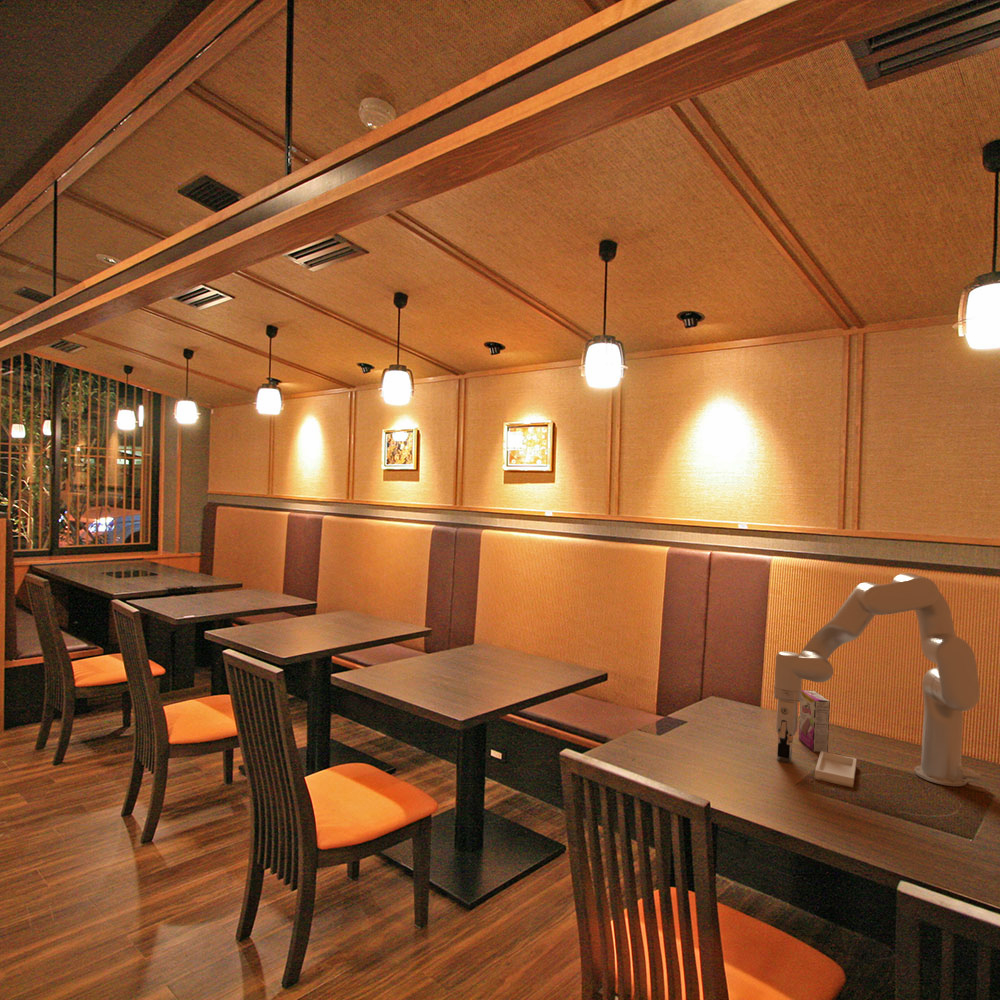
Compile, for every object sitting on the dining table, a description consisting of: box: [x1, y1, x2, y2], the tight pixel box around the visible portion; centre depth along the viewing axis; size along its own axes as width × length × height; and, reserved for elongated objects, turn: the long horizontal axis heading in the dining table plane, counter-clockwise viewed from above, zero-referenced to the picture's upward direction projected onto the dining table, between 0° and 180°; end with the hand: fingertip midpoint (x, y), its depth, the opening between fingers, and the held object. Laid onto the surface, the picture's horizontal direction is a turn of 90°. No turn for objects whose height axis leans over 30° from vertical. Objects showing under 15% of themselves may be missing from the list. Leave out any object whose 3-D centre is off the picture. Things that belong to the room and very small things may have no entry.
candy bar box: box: [798, 689, 831, 753], centre depth 216 cm, size 11×5×16 cm, turn 179°
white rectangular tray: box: [814, 751, 857, 788], centre depth 195 cm, size 10×18×2 cm, turn 150°
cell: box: [776, 732, 794, 764], centre depth 203 cm, size 4×4×8 cm
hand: (784, 754), depth 203 cm, fingers closed on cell, 4 cm apart
